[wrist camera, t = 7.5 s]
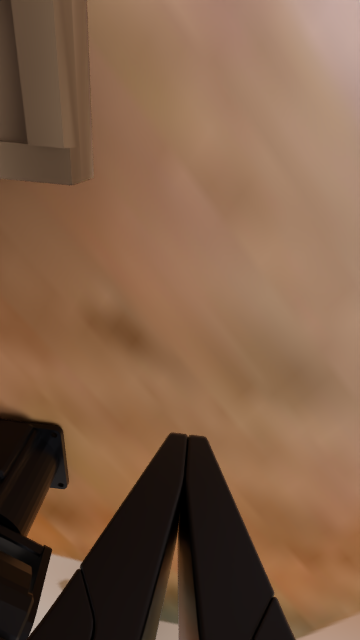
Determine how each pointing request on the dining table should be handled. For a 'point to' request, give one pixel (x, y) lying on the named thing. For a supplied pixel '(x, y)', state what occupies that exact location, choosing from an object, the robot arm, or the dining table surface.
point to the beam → (45, 92)
